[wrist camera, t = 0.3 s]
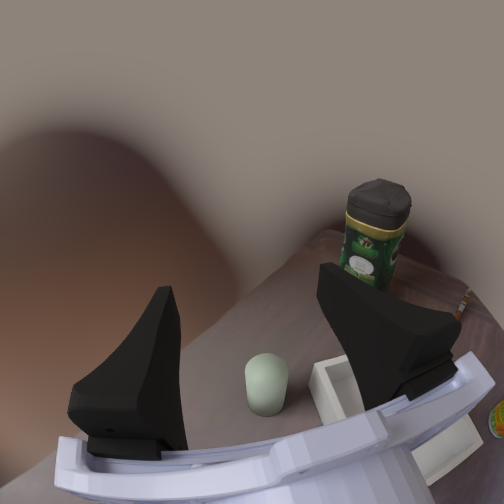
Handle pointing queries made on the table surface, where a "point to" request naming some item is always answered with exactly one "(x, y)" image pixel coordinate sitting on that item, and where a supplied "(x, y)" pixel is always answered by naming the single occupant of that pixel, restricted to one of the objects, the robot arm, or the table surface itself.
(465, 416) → the tote
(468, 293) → the wooden post with brackets
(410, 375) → the robot arm
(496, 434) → the supplement bottle
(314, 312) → the table surface
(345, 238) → the coffee jar
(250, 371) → the sage cylinder
